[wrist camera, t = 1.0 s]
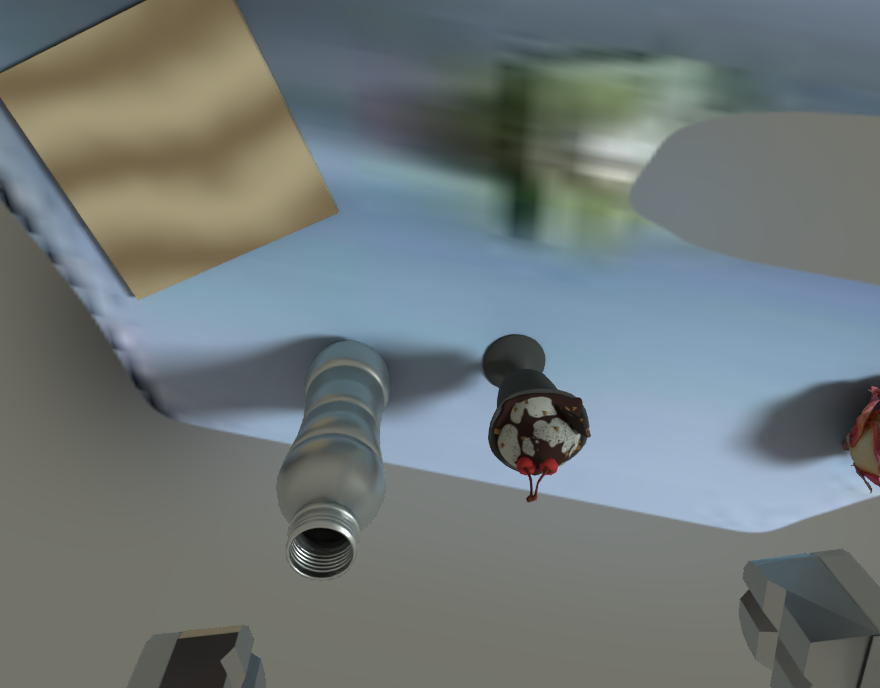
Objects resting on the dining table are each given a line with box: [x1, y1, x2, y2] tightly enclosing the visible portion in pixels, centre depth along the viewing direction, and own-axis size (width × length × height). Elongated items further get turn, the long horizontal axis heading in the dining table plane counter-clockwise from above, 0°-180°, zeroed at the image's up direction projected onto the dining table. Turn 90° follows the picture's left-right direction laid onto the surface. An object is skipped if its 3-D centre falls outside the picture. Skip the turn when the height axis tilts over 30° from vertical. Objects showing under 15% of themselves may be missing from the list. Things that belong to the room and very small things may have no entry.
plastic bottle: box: [276, 341, 391, 580], centre depth 41 cm, size 6×7×20 cm
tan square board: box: [0, 0, 339, 300], centre depth 42 cm, size 16×16×1 cm
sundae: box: [484, 335, 591, 502], centre depth 44 cm, size 7×7×15 cm
